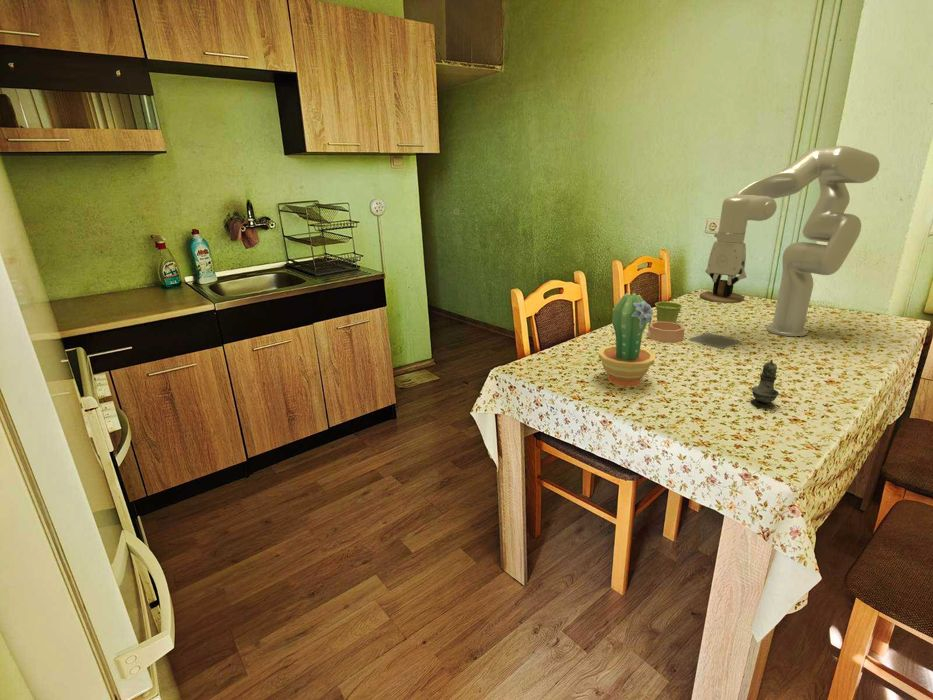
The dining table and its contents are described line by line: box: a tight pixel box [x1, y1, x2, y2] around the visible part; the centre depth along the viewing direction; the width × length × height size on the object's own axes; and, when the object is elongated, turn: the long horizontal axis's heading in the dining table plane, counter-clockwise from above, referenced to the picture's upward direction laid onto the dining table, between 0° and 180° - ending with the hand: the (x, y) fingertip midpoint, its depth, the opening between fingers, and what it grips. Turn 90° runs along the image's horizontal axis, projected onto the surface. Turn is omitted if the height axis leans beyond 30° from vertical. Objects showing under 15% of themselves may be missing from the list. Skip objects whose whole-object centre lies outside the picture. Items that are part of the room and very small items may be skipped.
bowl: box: [647, 320, 685, 343], centre depth 168 cm, size 11×11×5 cm
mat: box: [687, 332, 742, 350], centre depth 164 cm, size 12×12×1 cm
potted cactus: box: [598, 292, 656, 388], centre depth 133 cm, size 15×15×25 cm
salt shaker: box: [750, 359, 780, 410], centre depth 119 cm, size 6×6×12 cm
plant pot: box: [654, 301, 683, 323], centre depth 181 cm, size 9×9×9 cm
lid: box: [699, 279, 745, 304], centre depth 158 cm, size 13×13×6 cm
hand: (721, 294), depth 158 cm, fingers closed on lid, 3 cm apart
